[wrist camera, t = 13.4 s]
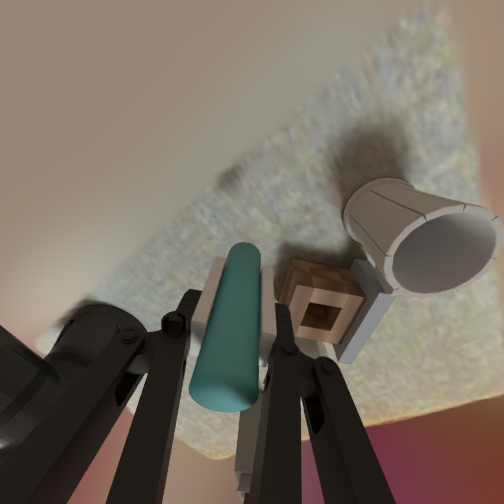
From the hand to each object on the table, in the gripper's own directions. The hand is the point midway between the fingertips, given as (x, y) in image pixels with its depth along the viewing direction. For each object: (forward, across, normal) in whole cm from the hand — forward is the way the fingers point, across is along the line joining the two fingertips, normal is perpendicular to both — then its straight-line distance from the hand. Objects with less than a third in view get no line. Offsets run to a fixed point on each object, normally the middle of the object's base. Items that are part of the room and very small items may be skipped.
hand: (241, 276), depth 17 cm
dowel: (+3, 0, 0) cm, 3 cm away
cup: (+14, +17, +3) cm, 22 cm away
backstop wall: (+14, +17, -10) cm, 24 cm away
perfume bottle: (+15, +10, -46) cm, 49 cm away
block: (+14, +12, -10) cm, 21 cm away
